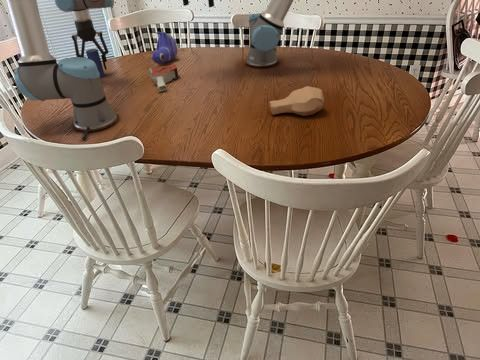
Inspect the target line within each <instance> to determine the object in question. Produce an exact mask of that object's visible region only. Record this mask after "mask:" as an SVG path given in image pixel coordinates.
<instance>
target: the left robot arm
mask: <svg viewBox="0 0 480 360" xmlns="http://www.w3.org/2000/svg"><path fill="white" fill-rule="evenodd" d="M54 3H55V6H56V7H57V9H59V10H60V11H61V12H64V13H69V12H70V13H71V15H72V19H73V21H74V22H73V23H74V25H75V30H76V33H75V34H72V35H71V40H72V41H73V45H74V51H75V56H71V57H65V58H62V59H60V60H59V61H58V62H57V58H56V57H54V56H53V55H52V54H51V53H50V50H49V46H48V42H47V38H46V33H45V30H44V26H43V21H42V18H41V14H40V10H39V7H38V2H37V0H5V4H6V6H7V10H8V13H9V18H10V21H11V24H12V27H13V31H14V35H15V38H16V41H17V45H18V49H19V52H20V57H19V59H18V60H17V64H18V66H17V67H16V68H15V69H14V75H13V78H14V82H15V85H16V88H17V89H18V90H19V92H20V93H21V95H23V96H24V98H26V99H28V100H30V101H41V102H45V101H49V100H50V101H51V100H65V99H69V100H70V101H71V104H72V108H73V114H72V117H73V118H72V119H73V125H74V128H75V129H76V131H78V132H84V133H83V136H82V138H81V139H82V140H83V141H85V140H86V138H87V135H88V133H92V132H99V131H102V130H105V129H107V128H110V127H111V126H113V125H115V124H116V122H117V121H118V116H117V113H116V111H115V110H114V108H113V107H112V105H111V103H110V102H109V101H108V99H107V96H106V92H105V89H104V87H103V86H104V85H103V83H102V79H101V78H102V77H101V78H100V73H99V71H98V69H97V66H96V64H95V62H94V61H92V60H90V59H88V57H87V56H85V47H86V43H88V42H92V43H93V44H94V45H95V46H96V49H98V52H100V58H101V62H102V66H103V69H104V71H106V70H107V69H108V68H107V64H106V63H107V62H108V59H107V56H106V55H108V54H109V49H108V46H107V44H106V42H105V39H104V36H103V31H102V30H101V31H97V30H96V29H95V27H94V23H93V20H92V16H91V12H90V10H91V9H106V8H108V9H109V8H113V7H114V5H115V0H54ZM96 36H97V37H99V40H100V42H101V44H102V46H101V45H100V43H99V42H98V40H97V39H96ZM78 38H79V39H80V40H81V48H80V49H81V51H80V50H79V45H78ZM102 47H103V48H102Z"/></svg>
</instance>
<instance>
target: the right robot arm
mask: <svg viewBox="0 0 480 360" xmlns="http://www.w3.org/2000/svg"><path fill="white" fill-rule="evenodd" d="M293 2H294V0H270V1H269V3H268V5H267V8H266V9H265V11H262V12H260V13H251V14H250V15H249V16H248V29H249V30H248V31H249V49H248V54H247V57H246V65H247V66H248V67H250V68H255V69H263V68H270V67H274V66H276V65H277V64H278V56H277V52H276V48H277V46H278V44H279V41H280V36H281V33H282V31H283V30H284V28H285V23H284V20H285V18H286V16H287V14H288V12H289V10H290V8H291V7H292V4H293ZM207 3H208V8H212V7H213V8H214V7H215V0H207ZM182 5H183V6H184V7H185V6H189V5H190V1H189V0H182Z"/></svg>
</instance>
